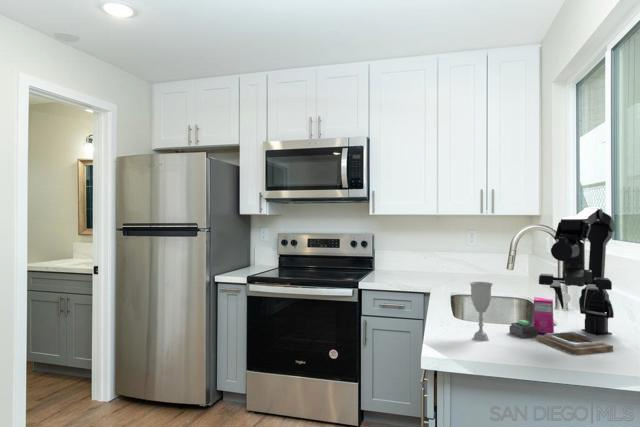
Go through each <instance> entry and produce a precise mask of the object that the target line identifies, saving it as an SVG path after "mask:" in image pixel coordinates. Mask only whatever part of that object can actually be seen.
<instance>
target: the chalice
mask: <svg viewBox="0 0 640 427" xmlns="http://www.w3.org/2000/svg"><path fill="white" fill-rule="evenodd" d="M469 284H470V299H471V301H472V305H473V307H474V309H475V311H476V312H478V313H479V314H478V315H479V316H478V318H477V319H478V321H479V322H478V323H477V325H478V327H479V328H478V329H479V330H477V331H475V332H474V334H473V338H472V339H473V340H475V341H478V342H488V341H490V339H489V336H488V334H487V332H485V331H484V330H483V326H484V322H483V320H484V317H483V314H484V313H485V312H486V311H487V309H488V307H489V306H490V303H491V301H492V286H493V284H494V283H492V282H487V281H471V282H469Z"/></svg>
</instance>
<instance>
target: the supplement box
mask: <svg viewBox="0 0 640 427" xmlns="http://www.w3.org/2000/svg"><path fill="white" fill-rule="evenodd" d="M533 325H534V326H536V329H538V335H545V334H546V333H555V329H554V328H555V327H554V326H555V322H554V298H552V297H536V296H535V297H534V298H533Z"/></svg>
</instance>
